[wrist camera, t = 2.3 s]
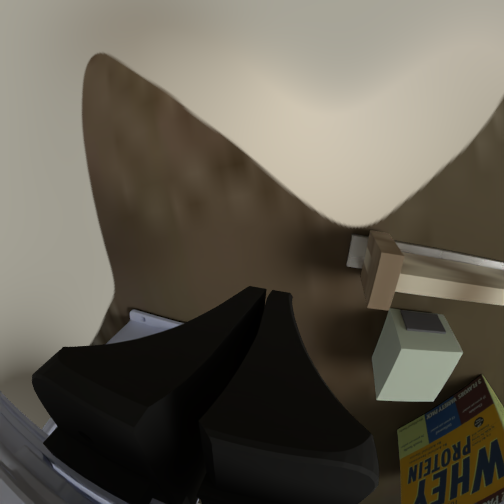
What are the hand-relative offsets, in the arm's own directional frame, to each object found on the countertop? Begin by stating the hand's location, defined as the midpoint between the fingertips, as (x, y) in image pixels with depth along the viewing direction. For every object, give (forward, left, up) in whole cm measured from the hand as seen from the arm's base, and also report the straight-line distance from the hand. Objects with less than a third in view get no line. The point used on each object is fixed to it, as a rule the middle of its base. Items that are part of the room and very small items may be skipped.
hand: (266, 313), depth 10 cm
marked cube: (+10, -6, -8) cm, 14 cm away
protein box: (+23, -18, -9) cm, 30 cm away
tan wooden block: (+11, 0, -8) cm, 13 cm away
